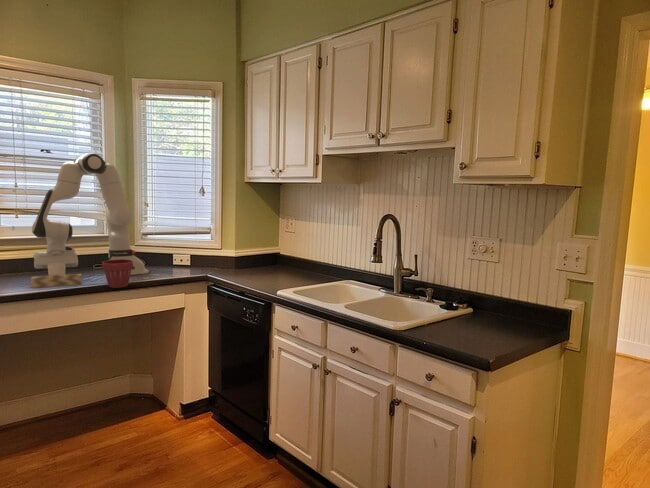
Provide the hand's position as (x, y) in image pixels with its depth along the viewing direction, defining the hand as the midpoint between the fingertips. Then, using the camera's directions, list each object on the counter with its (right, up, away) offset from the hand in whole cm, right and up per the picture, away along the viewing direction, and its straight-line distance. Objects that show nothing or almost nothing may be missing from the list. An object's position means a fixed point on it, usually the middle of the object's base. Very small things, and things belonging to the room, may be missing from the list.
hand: (56, 273), depth 242 cm
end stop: (+4, -6, -6) cm, 9 cm away
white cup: (+2, -5, -3) cm, 6 cm away
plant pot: (+34, -6, -5) cm, 35 cm away
